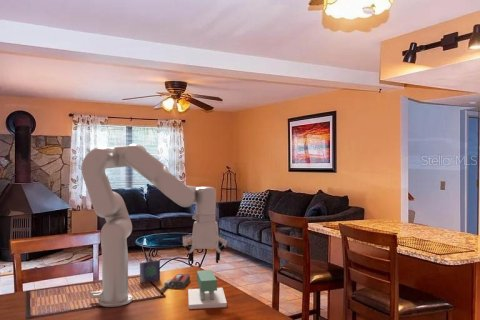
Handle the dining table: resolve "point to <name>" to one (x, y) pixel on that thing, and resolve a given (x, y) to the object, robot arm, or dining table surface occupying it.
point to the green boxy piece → (206, 280)
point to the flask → (149, 270)
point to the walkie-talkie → (177, 281)
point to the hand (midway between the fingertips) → (204, 262)
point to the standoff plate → (206, 299)
